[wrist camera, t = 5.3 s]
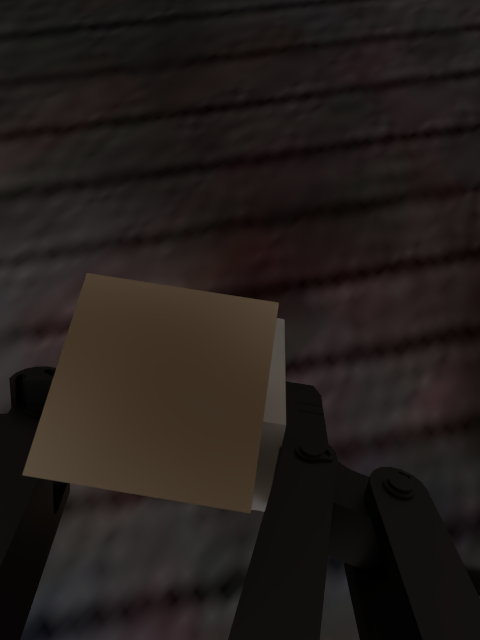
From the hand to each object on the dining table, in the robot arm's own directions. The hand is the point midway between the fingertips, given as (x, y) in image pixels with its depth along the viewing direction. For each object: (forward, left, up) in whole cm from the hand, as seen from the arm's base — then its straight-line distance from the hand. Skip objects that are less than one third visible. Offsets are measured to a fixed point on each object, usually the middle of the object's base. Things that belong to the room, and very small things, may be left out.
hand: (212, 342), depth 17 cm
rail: (+3, -2, -5) cm, 6 cm away
